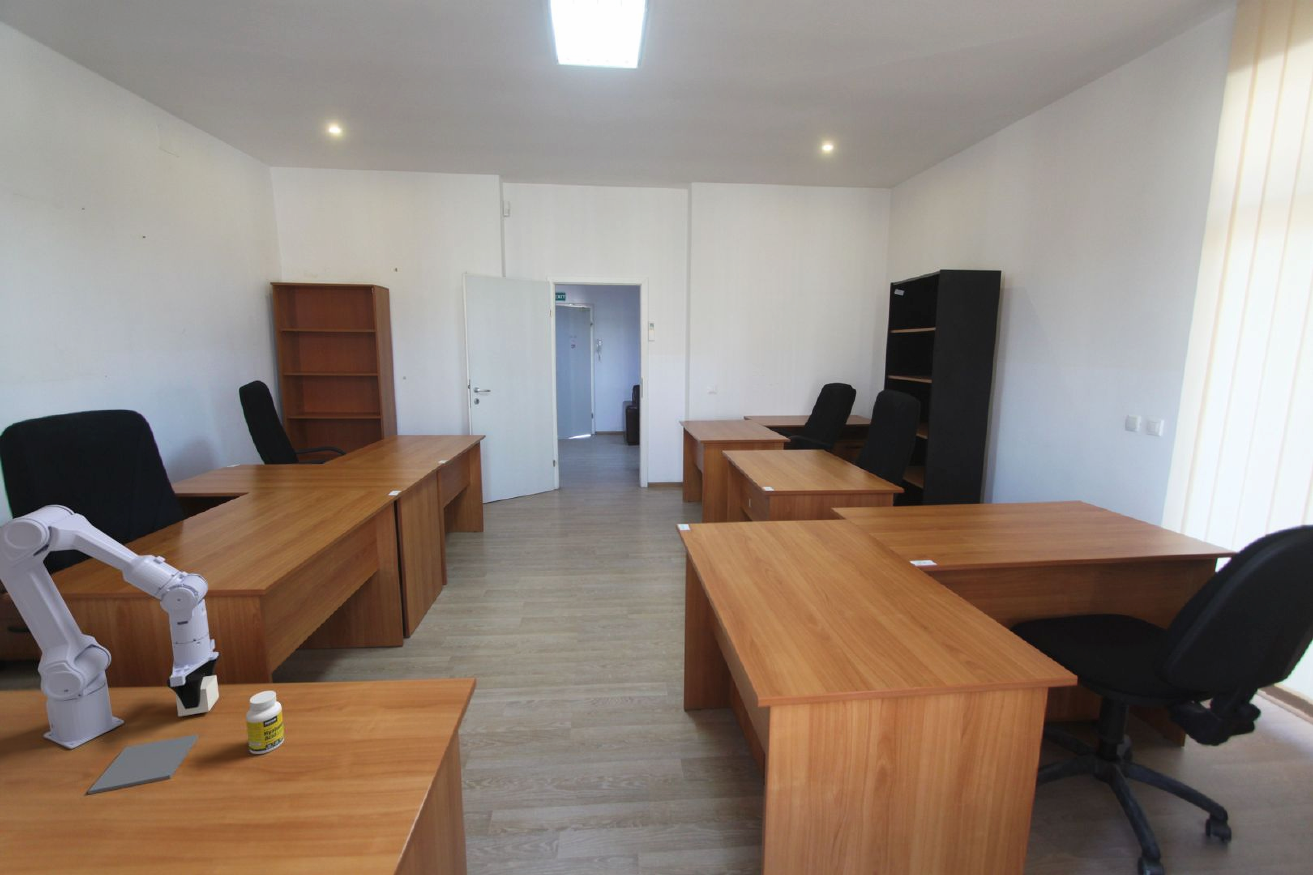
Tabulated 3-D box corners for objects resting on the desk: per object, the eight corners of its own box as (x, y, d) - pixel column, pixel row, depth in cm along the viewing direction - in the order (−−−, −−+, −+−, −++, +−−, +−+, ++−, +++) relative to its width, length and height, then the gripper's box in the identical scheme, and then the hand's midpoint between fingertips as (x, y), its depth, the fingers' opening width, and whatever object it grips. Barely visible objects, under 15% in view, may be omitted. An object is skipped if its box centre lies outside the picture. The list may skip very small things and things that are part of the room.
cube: (178, 716, 110) (175, 693, 110) (190, 701, 115) (187, 679, 114) (208, 711, 112) (206, 688, 111) (218, 696, 117) (216, 674, 116)
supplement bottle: (266, 757, 101) (261, 707, 99) (242, 752, 102) (236, 703, 100) (291, 737, 106) (287, 689, 104) (268, 733, 107) (262, 686, 105)
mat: (88, 794, 92) (88, 791, 92) (126, 749, 102) (125, 746, 102) (170, 778, 96) (169, 775, 95) (198, 736, 106) (198, 734, 106)
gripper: (198, 651, 106) (206, 716, 108) (228, 617, 119) (235, 676, 121) (152, 657, 104) (161, 724, 106) (188, 622, 117) (196, 682, 119)
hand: (198, 699), depth 113 cm, fingers closed on cube, 5 cm apart
